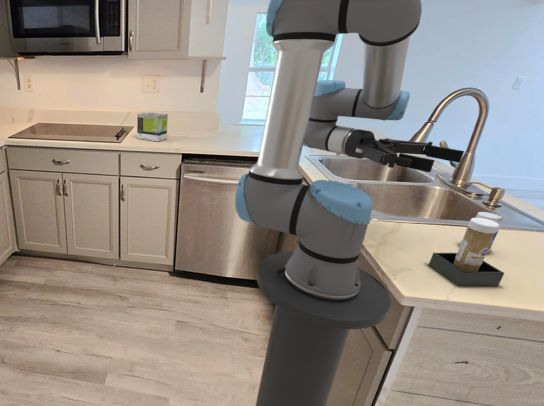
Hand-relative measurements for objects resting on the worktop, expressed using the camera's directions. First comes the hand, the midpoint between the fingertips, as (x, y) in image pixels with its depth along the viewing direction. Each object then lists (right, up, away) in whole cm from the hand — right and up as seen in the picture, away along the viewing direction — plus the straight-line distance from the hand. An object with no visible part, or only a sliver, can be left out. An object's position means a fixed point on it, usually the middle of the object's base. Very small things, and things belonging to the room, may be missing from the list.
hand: (447, 161), depth 83 cm
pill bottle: (+19, -22, +12) cm, 31 cm away
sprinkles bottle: (+5, -26, +2) cm, 27 cm away
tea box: (-50, +29, +133) cm, 145 cm away
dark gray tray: (+5, -26, +2) cm, 27 cm away
